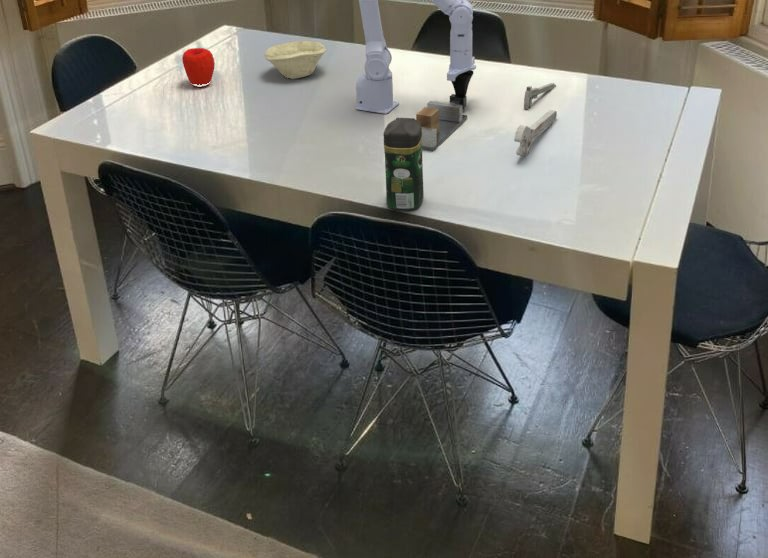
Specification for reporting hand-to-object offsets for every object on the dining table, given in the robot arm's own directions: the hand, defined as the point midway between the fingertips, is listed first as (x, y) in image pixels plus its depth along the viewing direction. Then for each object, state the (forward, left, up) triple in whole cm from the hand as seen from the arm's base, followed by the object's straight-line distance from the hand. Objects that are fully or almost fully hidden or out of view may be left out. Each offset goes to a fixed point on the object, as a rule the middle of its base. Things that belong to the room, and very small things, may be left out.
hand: (460, 98), depth 248 cm
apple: (-77, -11, -3) cm, 78 cm away
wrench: (+25, -13, -3) cm, 29 cm away
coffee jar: (+10, -56, -3) cm, 56 cm away
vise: (0, -18, -3) cm, 18 cm away
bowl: (-55, +7, -3) cm, 56 cm away
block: (0, -22, -2) cm, 22 cm away
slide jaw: (0, -6, -2) cm, 7 cm away
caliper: (+17, +15, -3) cm, 23 cm away
